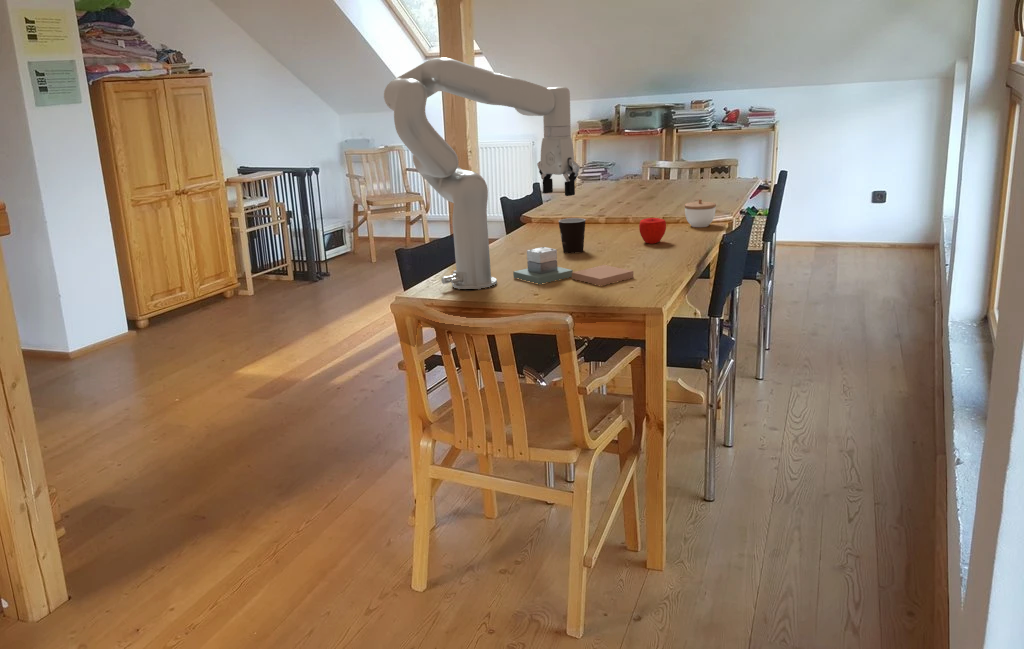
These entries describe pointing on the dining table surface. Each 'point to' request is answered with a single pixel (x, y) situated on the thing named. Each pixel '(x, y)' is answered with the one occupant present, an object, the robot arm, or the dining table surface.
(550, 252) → the housing
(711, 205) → the lidded jar
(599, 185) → the dining table surface
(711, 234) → the dining table surface
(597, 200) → the dining table surface
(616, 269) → the stand
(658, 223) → the apple
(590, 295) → the dining table surface
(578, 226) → the coffee mug
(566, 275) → the stand
